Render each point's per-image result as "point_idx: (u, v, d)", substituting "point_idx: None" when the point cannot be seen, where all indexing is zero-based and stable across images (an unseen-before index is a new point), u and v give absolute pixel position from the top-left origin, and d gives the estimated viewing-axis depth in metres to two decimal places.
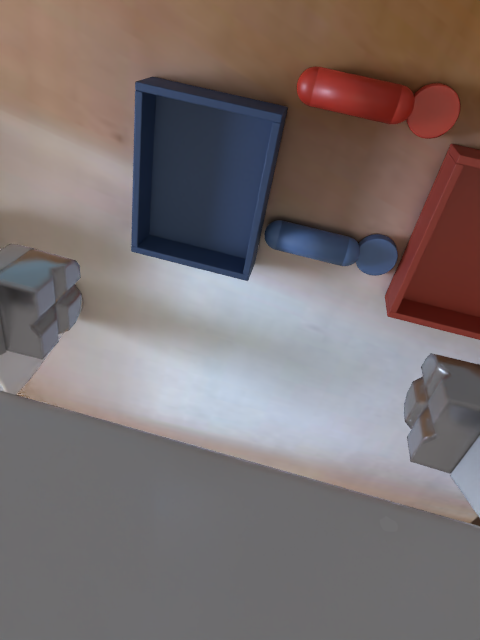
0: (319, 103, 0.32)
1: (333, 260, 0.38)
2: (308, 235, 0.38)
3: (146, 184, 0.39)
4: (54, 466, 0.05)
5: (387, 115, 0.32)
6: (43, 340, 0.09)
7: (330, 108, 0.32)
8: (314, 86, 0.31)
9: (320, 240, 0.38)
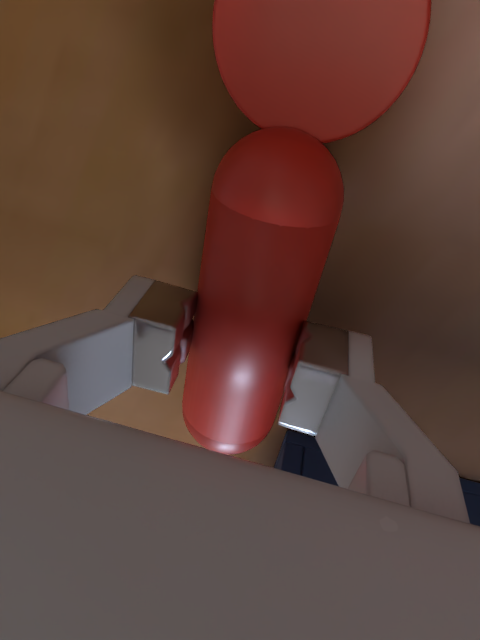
0: (258, 423, 0.11)
1: None
2: None
3: None
4: (54, 466, 0.05)
5: (297, 248, 0.08)
6: (172, 375, 0.09)
7: (271, 398, 0.11)
8: (211, 438, 0.11)
9: None
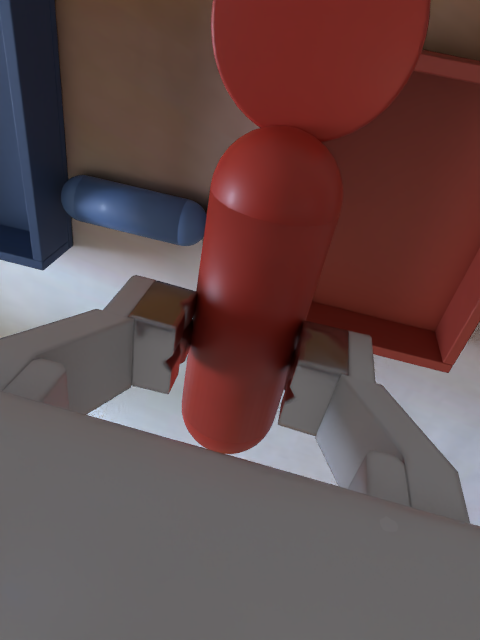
0: (257, 422, 0.11)
1: (163, 236, 0.24)
2: (120, 197, 0.24)
3: None
4: (54, 466, 0.05)
5: (296, 247, 0.08)
6: (171, 375, 0.09)
7: (271, 397, 0.11)
8: (211, 437, 0.11)
9: (138, 204, 0.24)
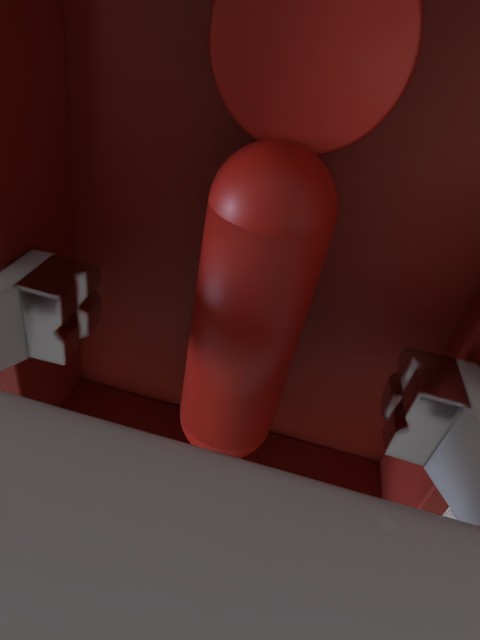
0: (255, 429, 0.11)
1: None
2: None
3: None
4: (54, 466, 0.05)
5: (292, 259, 0.08)
6: (65, 346, 0.09)
7: (268, 405, 0.11)
8: (208, 444, 0.11)
9: None
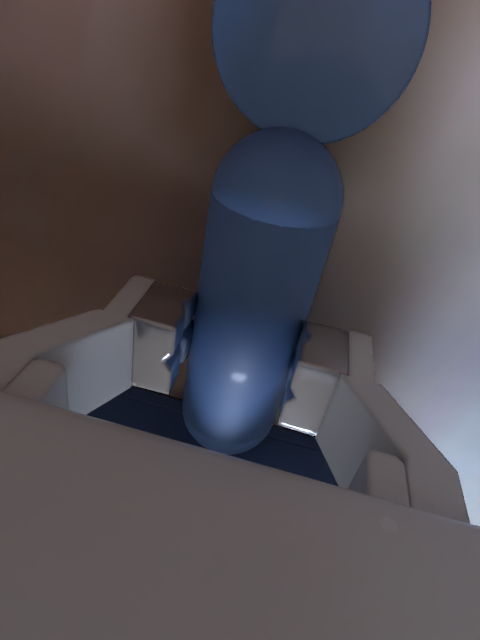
0: None
1: (288, 268, 0.08)
2: (197, 345, 0.10)
3: None
4: (54, 466, 0.05)
5: None
6: (172, 375, 0.09)
7: None
8: None
9: (206, 311, 0.09)
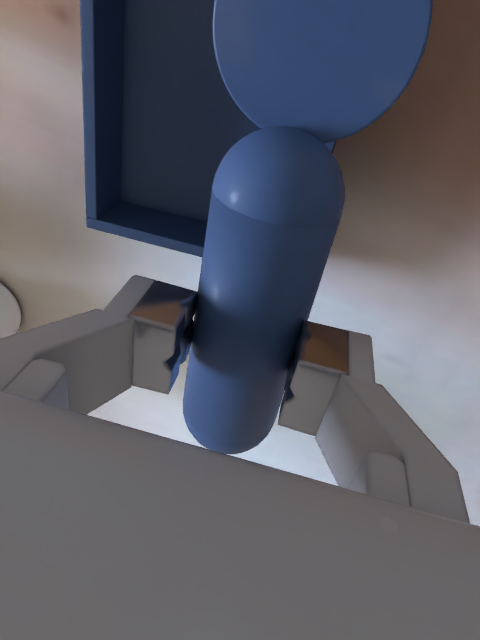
0: None
1: (289, 267, 0.08)
2: (197, 344, 0.10)
3: (111, 100, 0.21)
4: (54, 466, 0.05)
5: None
6: (171, 375, 0.09)
7: None
8: None
9: (207, 311, 0.09)
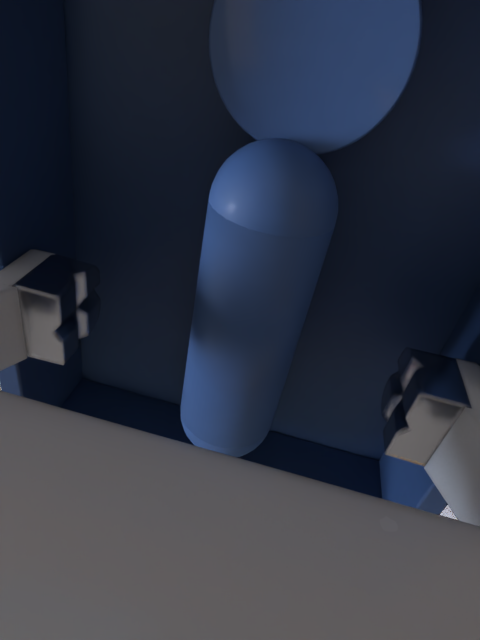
0: None
1: (284, 276, 0.08)
2: (194, 351, 0.10)
3: (47, 251, 0.11)
4: (54, 466, 0.05)
5: None
6: (65, 346, 0.09)
7: None
8: None
9: (203, 318, 0.10)
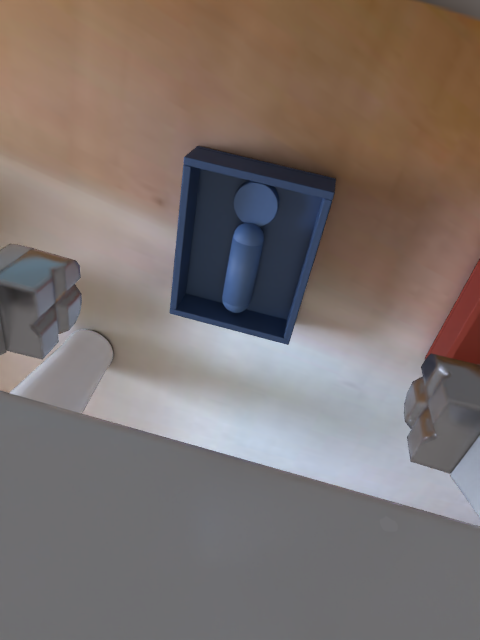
0: None
1: (250, 255, 0.36)
2: (228, 276, 0.38)
3: (187, 249, 0.38)
4: (54, 466, 0.05)
5: None
6: (43, 340, 0.09)
7: None
8: None
9: (231, 266, 0.37)
